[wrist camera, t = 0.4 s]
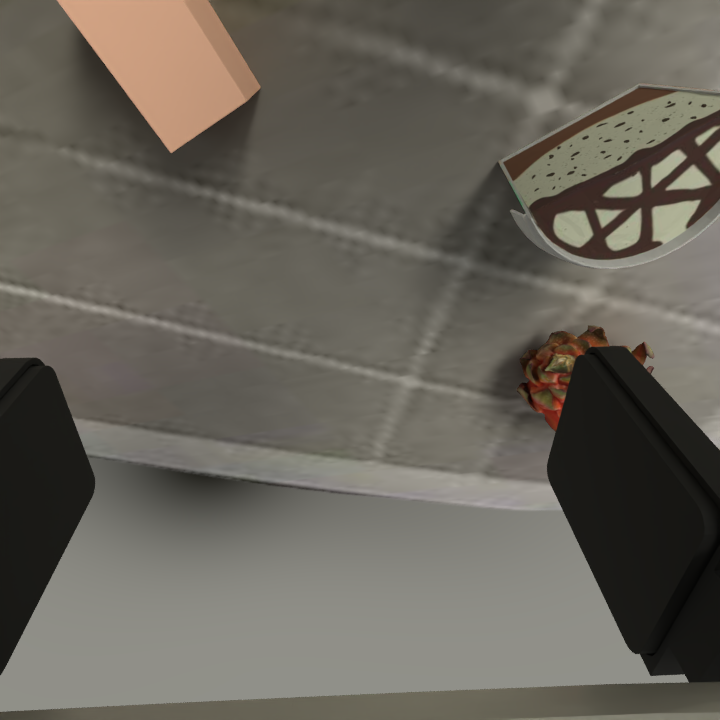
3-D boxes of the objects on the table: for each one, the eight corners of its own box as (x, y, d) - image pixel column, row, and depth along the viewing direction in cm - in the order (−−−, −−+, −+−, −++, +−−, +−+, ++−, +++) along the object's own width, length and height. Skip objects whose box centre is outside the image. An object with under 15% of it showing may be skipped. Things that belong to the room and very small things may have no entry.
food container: (508, 248, 38) (557, 315, 30) (476, 172, 35) (520, 223, 26) (682, 160, 35) (790, 207, 27) (664, 69, 32) (780, 89, 23)
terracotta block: (159, -81, 27) (118, -102, 22) (261, 87, 32) (246, 101, 27) (88, -22, 28) (35, -29, 23) (196, 131, 33) (171, 153, 28)
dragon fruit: (503, 315, 43) (609, 350, 47) (481, 416, 42) (590, 442, 47) (583, 308, 35) (701, 351, 39) (558, 433, 34) (680, 462, 39)
